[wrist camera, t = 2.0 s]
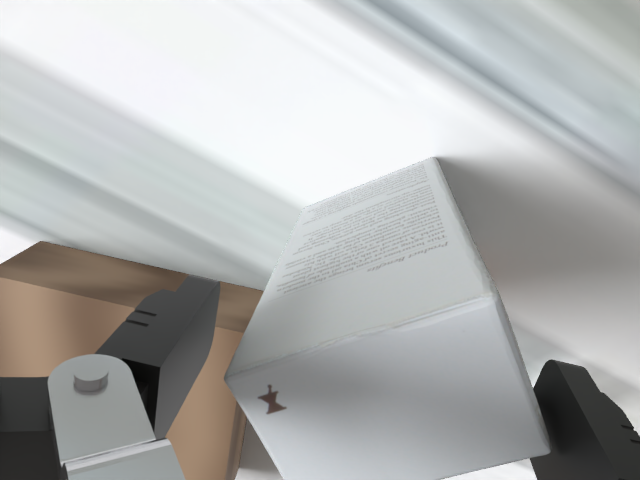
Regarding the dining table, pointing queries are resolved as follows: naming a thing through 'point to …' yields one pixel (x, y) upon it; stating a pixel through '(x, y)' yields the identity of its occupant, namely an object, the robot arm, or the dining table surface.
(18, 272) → the walnut block
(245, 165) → the dining table surface
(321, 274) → the skincare box
